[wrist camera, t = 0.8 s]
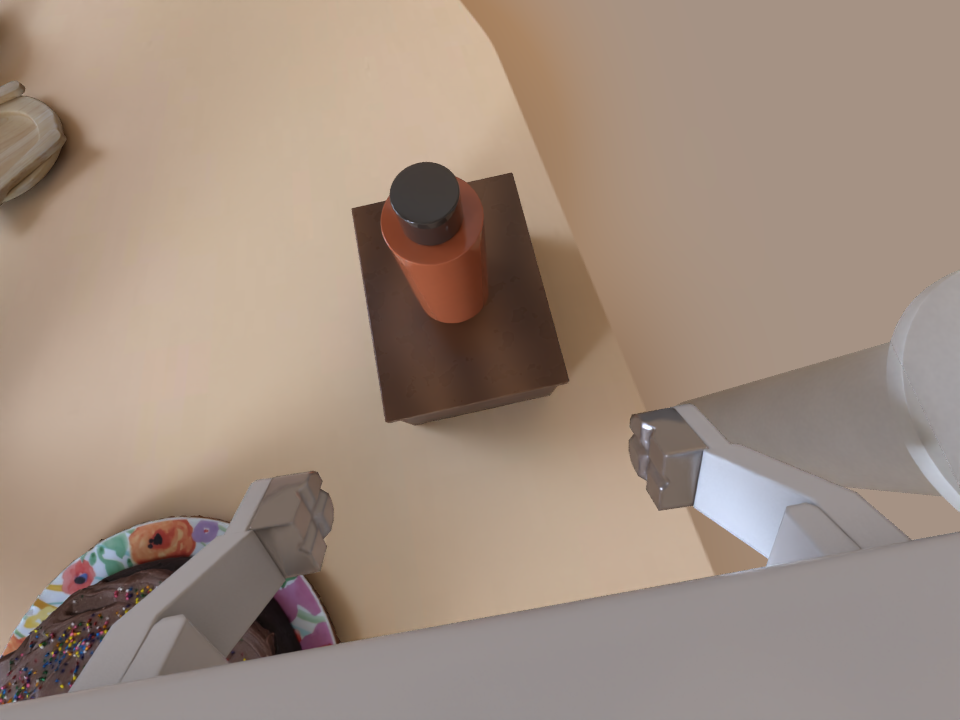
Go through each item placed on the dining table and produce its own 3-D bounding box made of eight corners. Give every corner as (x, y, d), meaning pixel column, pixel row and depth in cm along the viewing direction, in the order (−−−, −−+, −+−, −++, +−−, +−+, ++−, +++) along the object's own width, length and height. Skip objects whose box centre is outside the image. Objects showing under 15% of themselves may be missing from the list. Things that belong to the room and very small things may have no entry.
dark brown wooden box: (512, 228, 39) (514, 171, 31) (556, 397, 35) (572, 380, 27) (381, 257, 39) (351, 208, 31) (411, 429, 35) (385, 422, 27)
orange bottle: (480, 248, 30) (468, 132, 19) (496, 314, 28) (493, 229, 18) (411, 264, 30) (359, 156, 19) (423, 330, 28) (376, 255, 18)
